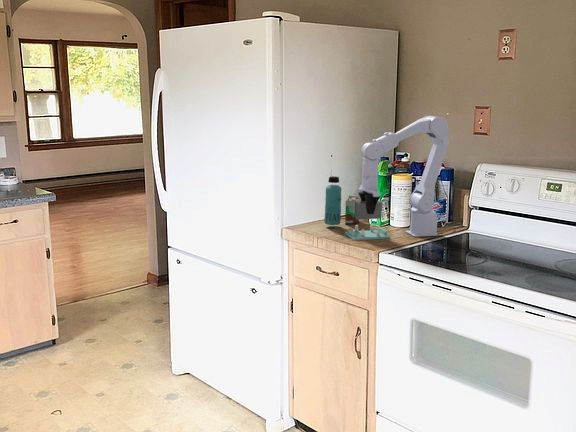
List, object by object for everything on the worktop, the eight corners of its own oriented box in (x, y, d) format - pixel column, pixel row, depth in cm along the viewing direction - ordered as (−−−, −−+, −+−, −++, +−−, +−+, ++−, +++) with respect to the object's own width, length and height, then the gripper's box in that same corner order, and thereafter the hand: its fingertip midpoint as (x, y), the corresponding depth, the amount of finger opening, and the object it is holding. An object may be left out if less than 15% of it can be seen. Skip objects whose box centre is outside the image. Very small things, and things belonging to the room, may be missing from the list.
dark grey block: (377, 216, 228) (378, 200, 227) (381, 218, 225) (382, 202, 223) (354, 217, 226) (355, 200, 225) (358, 219, 223) (358, 202, 221)
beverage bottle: (322, 228, 238) (324, 177, 234) (325, 224, 244) (326, 175, 240) (339, 229, 237) (341, 178, 232) (341, 225, 243) (343, 175, 239)
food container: (360, 226, 242) (361, 201, 240) (344, 225, 243) (345, 200, 241) (362, 219, 254) (363, 195, 252) (348, 218, 255) (348, 195, 253)
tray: (379, 231, 234) (380, 223, 233) (390, 238, 224) (390, 229, 223) (344, 233, 230) (345, 224, 230) (353, 240, 221) (354, 231, 220)
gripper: (352, 173, 228) (351, 208, 231) (366, 179, 214) (365, 217, 217) (370, 172, 230) (369, 208, 233) (385, 178, 216) (383, 216, 219)
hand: (368, 212), depth 225 cm, fingers closed on dark grey block, 4 cm apart
